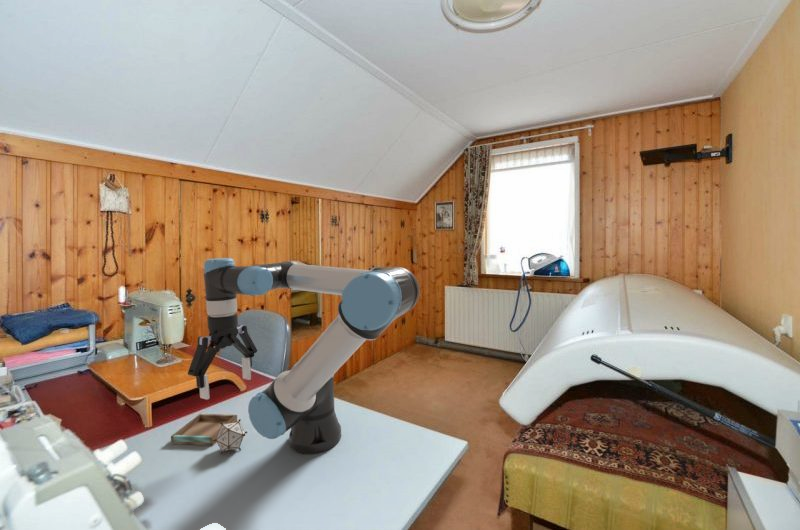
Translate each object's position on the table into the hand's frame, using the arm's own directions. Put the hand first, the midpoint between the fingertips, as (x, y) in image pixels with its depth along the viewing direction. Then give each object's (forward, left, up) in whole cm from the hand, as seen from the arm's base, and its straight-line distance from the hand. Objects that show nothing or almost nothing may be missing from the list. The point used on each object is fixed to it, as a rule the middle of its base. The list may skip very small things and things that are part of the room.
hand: (227, 388), depth 99 cm
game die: (0, 0, -18) cm, 19 cm away
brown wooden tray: (+15, -3, -18) cm, 24 cm away
